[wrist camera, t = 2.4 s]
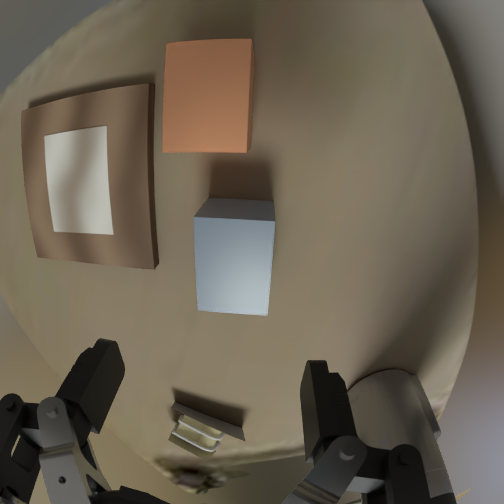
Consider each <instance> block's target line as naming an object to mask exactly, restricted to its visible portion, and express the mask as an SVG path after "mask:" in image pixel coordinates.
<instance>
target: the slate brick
mask: <svg viewBox="0 0 504 504" xmlns="http://www.w3.org/2000/svg"><path fill="white" fill-rule="evenodd" d="M274 232H275V212H274V201H264V200H246V199H224V198H208V199H207V200H206V202H205V203H204V204H203V206H202V207H201V208H200V209H199V211H198V212H197V213H196V215H195V216H194V245H195V268H196V287H197V303H198V310H200V311H211V312H223V313H236V314H251V315H267V313H268V303H269V291H270V280H271V268H272V256H273V244H274Z"/></svg>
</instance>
